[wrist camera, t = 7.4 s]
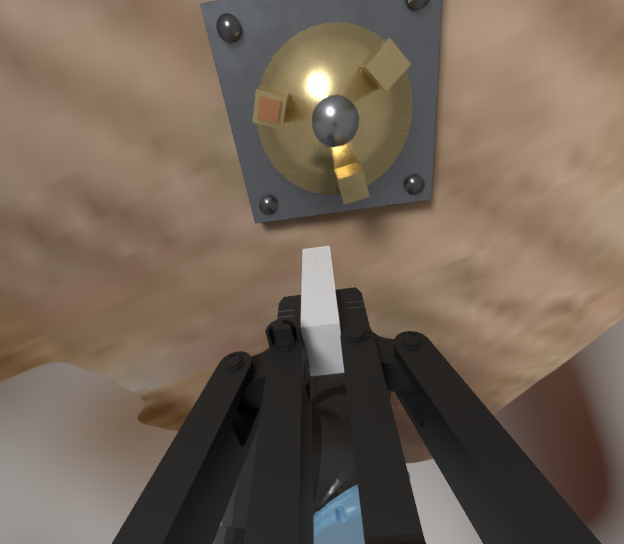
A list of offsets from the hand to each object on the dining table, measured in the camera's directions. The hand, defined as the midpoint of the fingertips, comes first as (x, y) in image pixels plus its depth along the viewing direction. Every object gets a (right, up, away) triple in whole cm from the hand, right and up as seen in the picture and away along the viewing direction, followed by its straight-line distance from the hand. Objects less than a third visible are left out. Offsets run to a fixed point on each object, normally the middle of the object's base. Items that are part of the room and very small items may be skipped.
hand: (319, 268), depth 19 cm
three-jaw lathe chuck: (+2, +15, +13) cm, 20 cm away
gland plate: (+2, +16, +15) cm, 22 cm away
